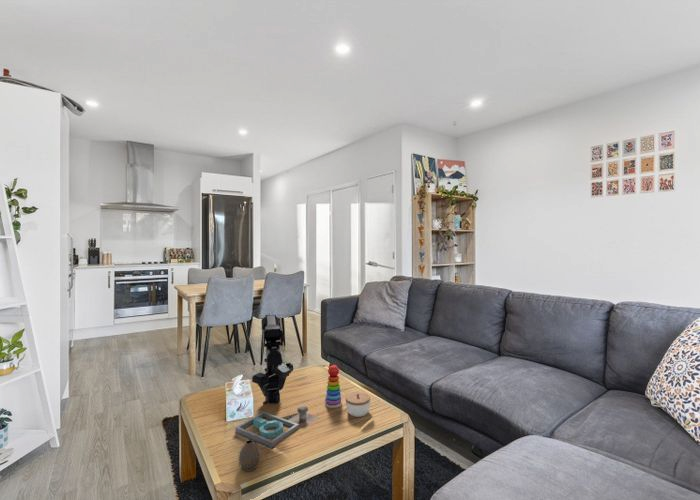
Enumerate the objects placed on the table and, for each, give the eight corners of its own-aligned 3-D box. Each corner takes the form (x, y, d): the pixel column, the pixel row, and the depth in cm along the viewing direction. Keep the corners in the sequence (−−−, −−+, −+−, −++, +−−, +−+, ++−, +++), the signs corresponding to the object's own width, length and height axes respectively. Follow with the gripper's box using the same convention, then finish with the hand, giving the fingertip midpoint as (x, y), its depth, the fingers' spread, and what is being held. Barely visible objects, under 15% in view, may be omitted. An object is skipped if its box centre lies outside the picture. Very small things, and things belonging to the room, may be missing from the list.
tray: (235, 433, 136) (235, 427, 136) (263, 417, 149) (263, 411, 149) (271, 449, 126) (271, 442, 126) (298, 430, 138) (298, 424, 138)
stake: (285, 423, 143) (285, 410, 143) (301, 413, 152) (301, 401, 152) (304, 430, 138) (304, 417, 138) (319, 419, 146) (319, 406, 146)
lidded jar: (340, 415, 150) (340, 394, 150) (357, 406, 158) (356, 386, 157) (359, 423, 142) (358, 401, 142) (375, 414, 150) (375, 393, 150)
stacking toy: (339, 410, 154) (339, 369, 153) (322, 409, 155) (321, 368, 155) (343, 402, 161) (343, 363, 161) (327, 401, 163) (326, 362, 163)
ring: (247, 430, 137) (246, 423, 137) (263, 420, 145) (263, 413, 145) (271, 440, 130) (271, 432, 130) (287, 429, 137) (287, 422, 137)
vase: (241, 461, 119) (241, 436, 119) (261, 460, 120) (261, 435, 119) (236, 474, 112) (236, 448, 112) (258, 473, 113) (257, 446, 113)
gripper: (269, 367, 134) (270, 406, 135) (302, 353, 149) (302, 388, 150) (250, 361, 140) (251, 399, 141) (283, 349, 156) (284, 382, 156)
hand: (273, 392), depth 147 cm, fingers open, 9 cm apart
